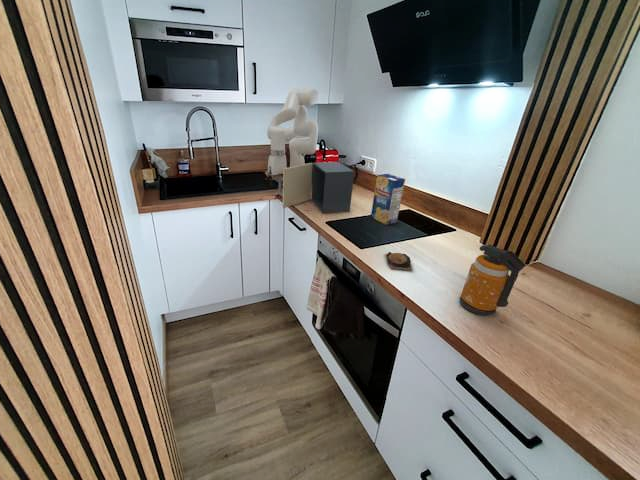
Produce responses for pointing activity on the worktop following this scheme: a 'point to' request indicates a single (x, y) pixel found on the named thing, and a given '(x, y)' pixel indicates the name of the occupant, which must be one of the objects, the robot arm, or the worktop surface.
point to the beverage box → (387, 198)
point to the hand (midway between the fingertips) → (277, 185)
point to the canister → (490, 280)
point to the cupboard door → (296, 184)
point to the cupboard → (332, 187)
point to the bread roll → (398, 261)
